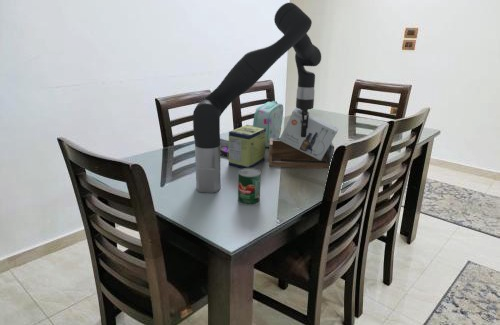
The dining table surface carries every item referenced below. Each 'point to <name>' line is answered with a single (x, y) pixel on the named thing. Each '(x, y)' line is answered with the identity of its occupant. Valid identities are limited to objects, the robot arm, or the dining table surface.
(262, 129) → the protein box
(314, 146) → the skincare box
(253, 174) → the canned tomato
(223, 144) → the box
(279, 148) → the shelf
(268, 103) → the lunch box
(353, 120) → the dining table surface
